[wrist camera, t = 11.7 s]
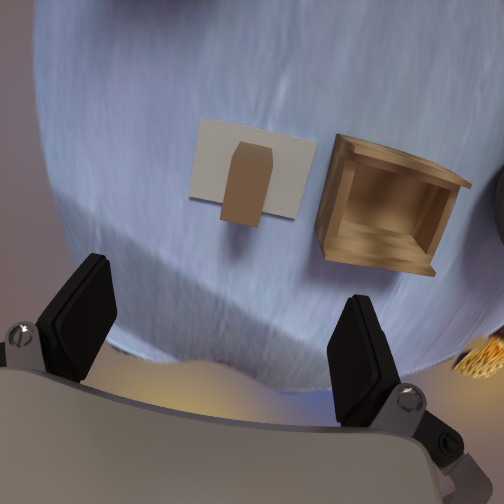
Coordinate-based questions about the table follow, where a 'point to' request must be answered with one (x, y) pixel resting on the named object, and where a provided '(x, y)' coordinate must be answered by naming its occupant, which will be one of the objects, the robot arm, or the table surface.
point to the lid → (250, 170)
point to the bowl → (500, 206)
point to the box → (384, 207)
